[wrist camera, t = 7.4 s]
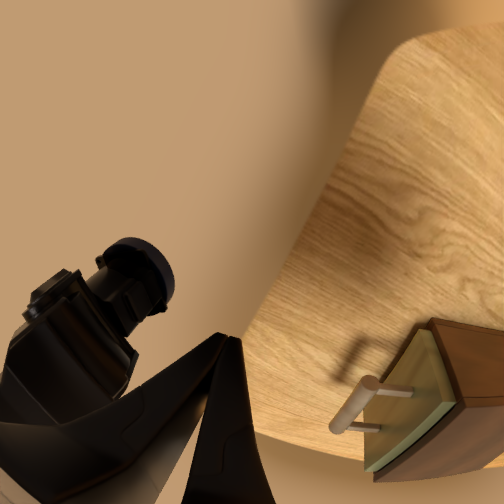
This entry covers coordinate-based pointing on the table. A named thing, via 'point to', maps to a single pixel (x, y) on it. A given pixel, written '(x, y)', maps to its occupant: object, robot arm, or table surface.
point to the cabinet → (460, 408)
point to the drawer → (399, 403)
